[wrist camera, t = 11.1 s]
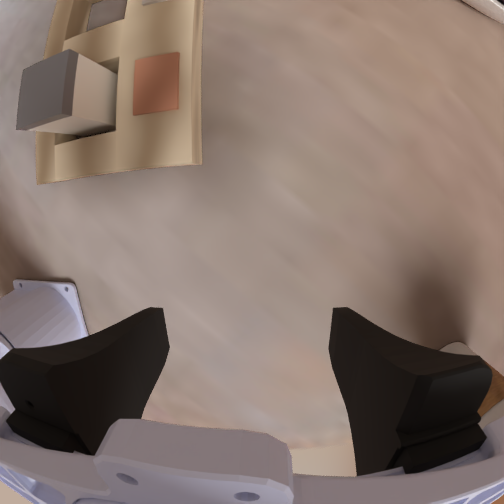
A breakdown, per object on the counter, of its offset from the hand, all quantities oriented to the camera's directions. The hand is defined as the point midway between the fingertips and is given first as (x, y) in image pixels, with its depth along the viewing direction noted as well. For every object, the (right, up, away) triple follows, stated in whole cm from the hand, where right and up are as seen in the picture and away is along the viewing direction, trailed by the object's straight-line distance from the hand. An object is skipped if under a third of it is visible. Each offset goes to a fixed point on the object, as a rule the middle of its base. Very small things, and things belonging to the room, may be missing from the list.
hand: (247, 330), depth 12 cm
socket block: (-10, +19, +5) cm, 22 cm away
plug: (-11, +14, +7) cm, 20 cm away
